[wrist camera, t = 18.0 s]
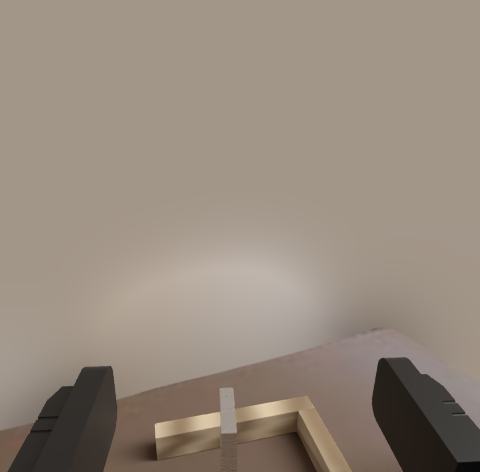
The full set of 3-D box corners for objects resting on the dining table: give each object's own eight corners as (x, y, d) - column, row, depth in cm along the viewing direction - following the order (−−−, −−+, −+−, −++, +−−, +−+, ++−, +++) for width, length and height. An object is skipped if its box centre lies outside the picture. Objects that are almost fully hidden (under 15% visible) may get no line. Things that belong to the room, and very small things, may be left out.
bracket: (222, 541, 32) (221, 433, 29) (220, 487, 37) (219, 388, 33) (297, 535, 33) (305, 428, 29) (286, 482, 38) (292, 384, 34)
